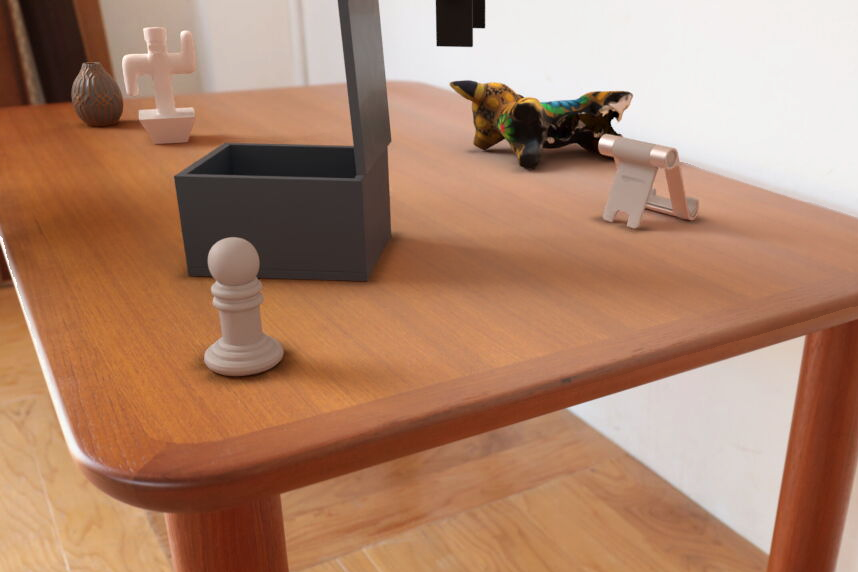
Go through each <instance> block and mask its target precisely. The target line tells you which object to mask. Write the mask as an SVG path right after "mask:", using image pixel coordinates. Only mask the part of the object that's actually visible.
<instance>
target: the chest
mask: <svg viewBox="0 0 858 572" xmlns="http://www.w3.org/2000/svg"><path fill="white" fill-rule="evenodd" d="M388 147H389V146H388ZM388 147H387V148H386V149H385V151H384V152H383V153H382V155H381V156H380V157H379V159H378V160H377V161H376V163H375V164H374V165H373V167H372V168H371V169H370V171H369V172H368V173H367V175H357V172H356V163H355V154H354V145H338V144H337V145H336V144H299V143H298V144H296V143H294V144H293V143H257V142H255V143H254V142H223V143H222V144H221V145H219V146H217V147H216V148H214V149H213V150H211V151H210V152H208V153H207V154H205V155H203V156H202V157H201V158H199V159H197V160H196V161H195V162H193V163H191V164H190V165H188V166H187V167H185V168H184V169H182V170H180V171H179V172H177V173H176V174H174V176H173V180H174V187H175V195H176V200H177V209H178V214H179V222H180V228H181V235H182V241H183V249H184V257H185V262H186V267H187V276H188V277H208V278H209V277H211V278H213V276H212V275H211V273H210V270H209V267H208V255H209V252H210V249H211V248H212V246H213V245H214V244H215V243H217V242H218V241H220V240H222V239H225V238H230V237H236V238H242V239H244V240H246V241H248V242H250V243H251V244H252V245H253V246H254V248H255V249H256V251H257V253H258V256H259V262H260V264H259V270H258V273H257V275H256V277H257V279H274V280H275V279H278V280H280V279H281V280H282V279H284V280H313V281H315V280H316V281H345V282H346V281H347V282H348V281H349V282H368V281H369V279H370V277H371V275H372V273H373V271H374V269H375V267H376V265H377V263H378V261H379V260H380V257H381V256H382V254H383V252H384V250H385V249H386V246H387V244H388V242H389V241H390V239H391V237H392V218H391V216H392V215H391V195H390V193H391V192H390V171H389V170H390V168H389V149H388Z"/></svg>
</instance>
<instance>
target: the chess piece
mask: <svg viewBox="0 0 858 572" xmlns="http://www.w3.org/2000/svg"><path fill="white" fill-rule="evenodd" d="M259 264H260V262H259V256H258V253H257V251H256V249H255V248H254V246H253V245H252V244H251V243H250V242H248V241H246V240H244V239H242V238H236V237H230V238H225V239H222V240H220V241H218V242H217V243H215V244H214V245H213V246H212V248H211V249H210V252H209V255H208V267H209V270H210V273H211V275H212V276H213V277H212V278H213V279H214V281H215V282H214V283H212V285H211V286H210V292H211V294H212V296H213V297H212V305H213V307H214V308H215V309H216V310H218V314H219V315H218V316H219V322H220V329H221V330H220V331H221V337H219V338H218V339H217V340H216V341H215V342H214V343H212V344H211V345H210V346H209V347H208V348H207V349H206V350H205V351H204V354H203V355H204V356H203V362H204V364H205V365H206V367H207V368H208V369H209V370H211V371H212V372H214V373H216V374H218V375H222V376H227V377H245V376H246V377H247V376H251V375H252V376H253V375H257V374H260V373H263V372H266V371H268V370H271V369H273V368H274V367H276V365H278V364H279V363H280V362H281V361H282V359H283V358H284V351H285V350H284V348H283V345H282V343H281V342H280V341H279V340H277V339H276V338H275V337H272V336H270V335H268V334H266V333H264V332H263V326H262V315H261V305H262V304H263V302H264V299H265V297H264V295H263V294H264V293H262V290H263V283H262V281H261V280H259V278H257V277H256V275H257V273H258V270H259Z"/></svg>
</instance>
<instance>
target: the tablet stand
mask: <svg viewBox="0 0 858 572" xmlns="http://www.w3.org/2000/svg"><path fill="white" fill-rule="evenodd" d="M598 149H599V152H600V153H601V154H600V155H602V156H605V155H607V156H611V157H614V158H613V160H614V165H615V167H616V172H615V176H614V179H613V182H612V185H611V188H610V192H609V195H608V198H607V200H606V204H605V207H604V211H603V213H602V219H603V220H604V221H606V222H609V223H613V222H614V220H615V218H616V216H617V214H618V213H619V212H622V213H624V214H627V215H628V219H627V223H626V227H627V228H630V229H634V230H637V229H638V228H639V227H640V225H641V223H642V219H643V216H644V213H645V210H646V209H647V210H650V211H654V212H658V213H663V214H666V215H670V216H674V217H677V218H678V219H682V220H687V221H688V220H689V221H694V220H695V219H696V218H697V216H698V214H699V211H700V199H699V198H696V197H692V196H688V195H686V188H685V183H684V177H683V174H682V173H683V172H682V167H681V162H680V157H679V152H678V150H677V148H675V147H671V146H667V145H661V144H656V143H651V142H647V141H642V140H638V139H633V138H628V137H624V136H623V137H619V136H615V135H610V134H604V135H603V136H602V137H601V138H600V140H599V144H598ZM659 168H660V169H663V170H664V174H665V179H666V182H667V188H668V194H669V198H668V197H664V196H660V195H658V194H657V188H656V187H653V186H654V183H655V180H656V177H657V173H658V171H659Z"/></svg>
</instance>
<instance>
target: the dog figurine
mask: <svg viewBox="0 0 858 572" xmlns="http://www.w3.org/2000/svg"><path fill="white" fill-rule="evenodd" d="M449 87H450V88H452V90H454V91H455V92H456V93H457V94H458V95H460V97H462V98H463V99H465V100H468V101H471V111H472V118H473V119H472V121H473V127H474V128H475V132H474V137H473V141H472V143H473V145H474V146H475V147H476V148H478V149H480V150H482V151H486V150H488V149H490V148H492V147H494V146H495V145H497V144H499V143H501V142H503V141H506V142H507V143H508V144H509V146H510V147H511V149H512V150H513V152H514V154H516V156H517V163H518V166H519V167H520V168H523V169H526V170H531V169H535V168H537V167H538V166H539V164H540V163H541V160H542V156H543V155H542V154H543V149H547V150H555V149H561V148H563V147H567V146H569V145H573V144H575V145H578V146H579V147H581V148H582V149H584V150H585V151H586V152H589V153H594V154H600V155H602V154H601V153H600V152H599V149H598V144H599V140H600V138H601V137H602V136H603V135H604V134H610V135H615V136H619V137H624V135H622V134H621V133H618V132H617V131H616V130H615V129H614V127H613V126H612V120H613V121H614V120H615V119H616V121H617V123H620V122H621V121H622V119H623V115H624V112H625V111H626V110H627V109H628V108H629V107H630V105H631V102H632V100H633V98H634V94H633V93H632V92H630V91H626V90H607V91H606V90H605V91H604V90H597V91H589V92H587V93H585V94H582V95H581V96H580V97H578V98H576V99H563V100H561V99H560V100H552V101H540V100H539V99H538V98H535V97H531V96H526V97H524V96H523V95H521V94H518V93H516V91H515V90H514V89H512V88H511V87H509V85H507V84H505V83H501V82H496V81H495V82H494V81H493V82H492V81H491V82H484V83H480V82H477V81H475V80H471V79H470V80H469V79H464V80H453V81H450V82H449ZM614 118H615V119H614ZM604 157H606V158H607V159H614V157H611V156H607V155H604Z"/></svg>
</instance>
